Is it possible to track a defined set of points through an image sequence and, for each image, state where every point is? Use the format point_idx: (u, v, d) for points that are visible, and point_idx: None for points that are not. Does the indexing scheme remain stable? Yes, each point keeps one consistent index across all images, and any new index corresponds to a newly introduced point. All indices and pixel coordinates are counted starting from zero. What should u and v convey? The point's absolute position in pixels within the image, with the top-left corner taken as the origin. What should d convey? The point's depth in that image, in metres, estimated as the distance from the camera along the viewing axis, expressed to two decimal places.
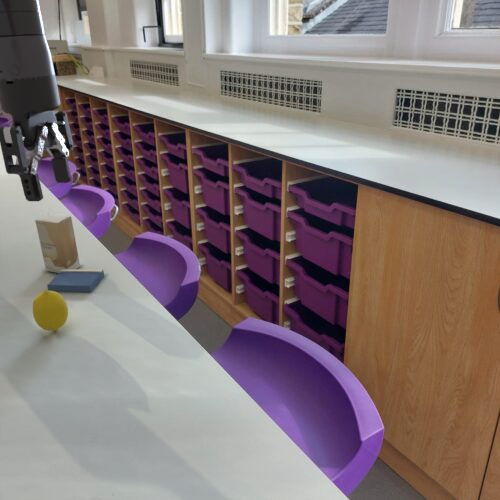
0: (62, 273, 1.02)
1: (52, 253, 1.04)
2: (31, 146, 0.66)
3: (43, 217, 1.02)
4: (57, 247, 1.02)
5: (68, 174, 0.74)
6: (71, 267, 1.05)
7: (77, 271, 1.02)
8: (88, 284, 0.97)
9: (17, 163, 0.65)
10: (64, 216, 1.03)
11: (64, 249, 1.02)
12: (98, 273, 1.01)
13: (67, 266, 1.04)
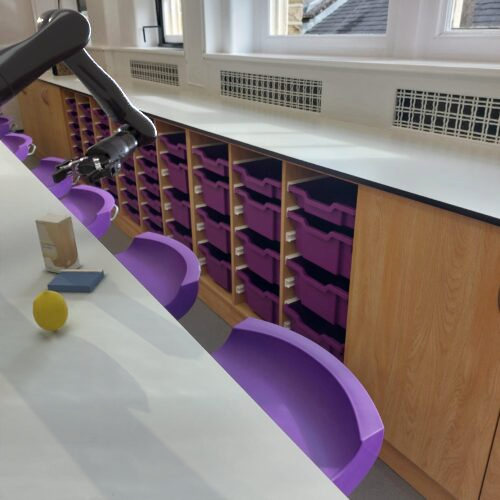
0: (62, 273, 1.02)
1: (52, 253, 1.04)
2: None
3: (43, 217, 1.02)
4: (57, 247, 1.02)
5: (59, 181, 1.10)
6: (71, 267, 1.05)
7: (77, 271, 1.02)
8: (88, 284, 0.97)
9: (101, 168, 1.10)
10: (64, 216, 1.03)
11: (64, 249, 1.02)
12: (98, 273, 1.01)
13: (67, 266, 1.04)
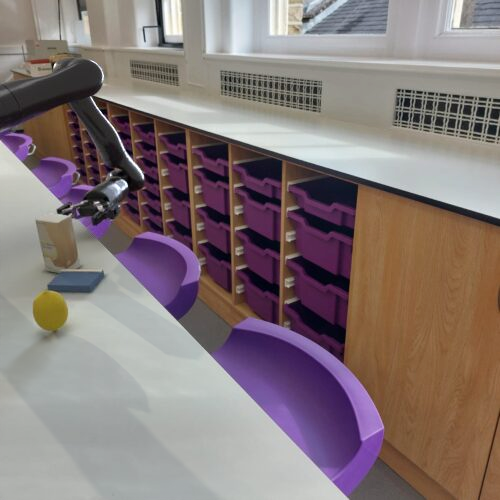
0: (62, 273, 1.02)
1: (52, 253, 1.04)
2: None
3: (43, 217, 1.02)
4: (57, 247, 1.02)
5: None
6: (71, 267, 1.05)
7: (77, 271, 1.02)
8: (88, 284, 0.97)
9: (104, 210, 1.16)
10: (64, 216, 1.03)
11: (64, 249, 1.02)
12: (98, 273, 1.01)
13: (67, 266, 1.04)
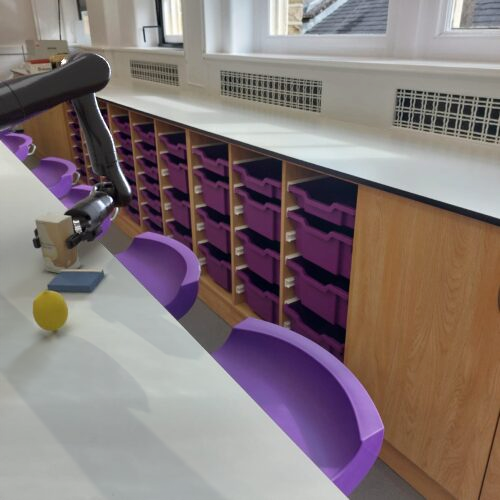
0: (62, 273, 1.02)
1: (52, 253, 1.04)
2: None
3: (43, 217, 1.02)
4: (57, 247, 1.02)
5: (40, 246, 1.04)
6: (71, 267, 1.05)
7: (77, 271, 1.02)
8: (88, 284, 0.97)
9: (81, 231, 1.06)
10: (64, 216, 1.03)
11: (63, 249, 1.02)
12: (98, 273, 1.01)
13: (67, 266, 1.04)
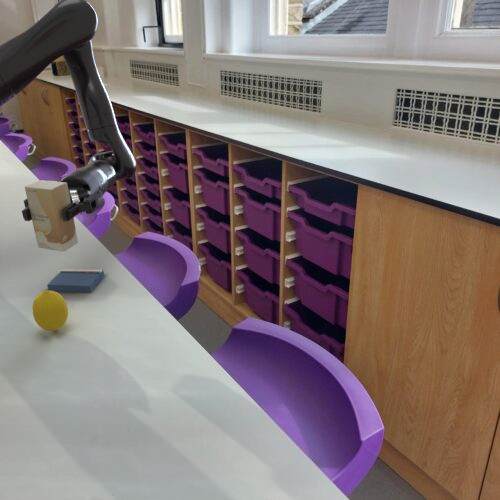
0: (62, 273, 1.02)
1: (45, 227, 0.88)
2: None
3: (35, 184, 0.87)
4: (51, 219, 0.87)
5: (31, 219, 0.89)
6: (67, 243, 0.90)
7: (77, 271, 1.02)
8: (88, 284, 0.97)
9: (79, 201, 0.91)
10: (59, 183, 0.87)
11: (59, 221, 0.87)
12: (98, 273, 1.01)
13: (63, 241, 0.89)
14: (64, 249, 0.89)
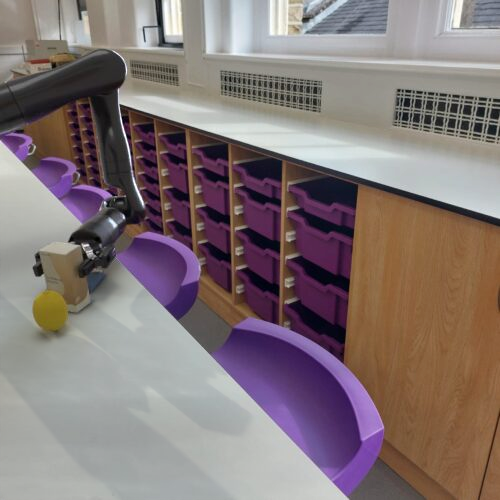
0: None
1: (59, 289, 0.89)
2: None
3: (49, 247, 0.88)
4: (64, 282, 0.88)
5: None
6: (80, 304, 0.91)
7: None
8: (88, 284, 0.97)
9: (94, 256, 0.92)
10: (72, 246, 0.88)
11: (72, 284, 0.88)
12: (98, 273, 1.01)
13: (76, 303, 0.90)
14: (77, 310, 0.90)
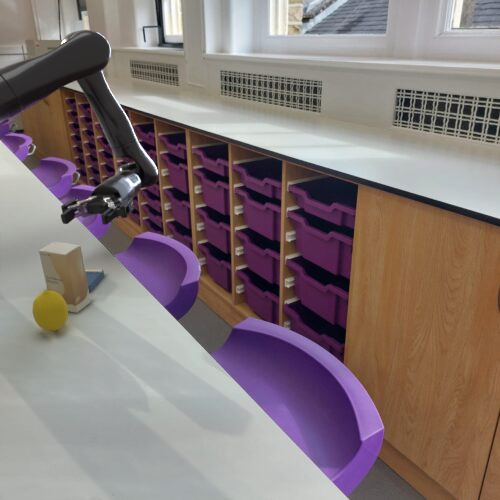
0: None
1: (59, 289, 0.89)
2: None
3: (49, 247, 0.88)
4: (64, 282, 0.88)
5: None
6: (80, 304, 0.91)
7: None
8: (88, 284, 0.97)
9: (115, 206, 1.02)
10: (72, 246, 0.88)
11: (72, 284, 0.88)
12: (98, 273, 1.01)
13: (76, 303, 0.90)
14: (77, 310, 0.90)
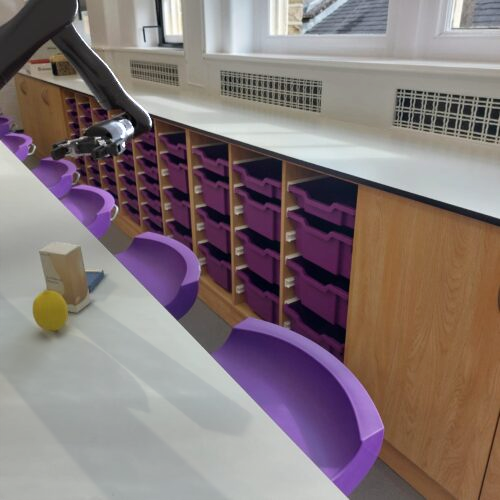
0: None
1: (59, 289, 0.89)
2: None
3: (49, 247, 0.88)
4: (64, 282, 0.88)
5: (58, 159, 0.99)
6: (80, 304, 0.91)
7: None
8: (88, 284, 0.97)
9: (106, 144, 1.01)
10: (72, 246, 0.88)
11: (72, 284, 0.88)
12: (98, 273, 1.01)
13: (76, 303, 0.90)
14: (77, 310, 0.90)
